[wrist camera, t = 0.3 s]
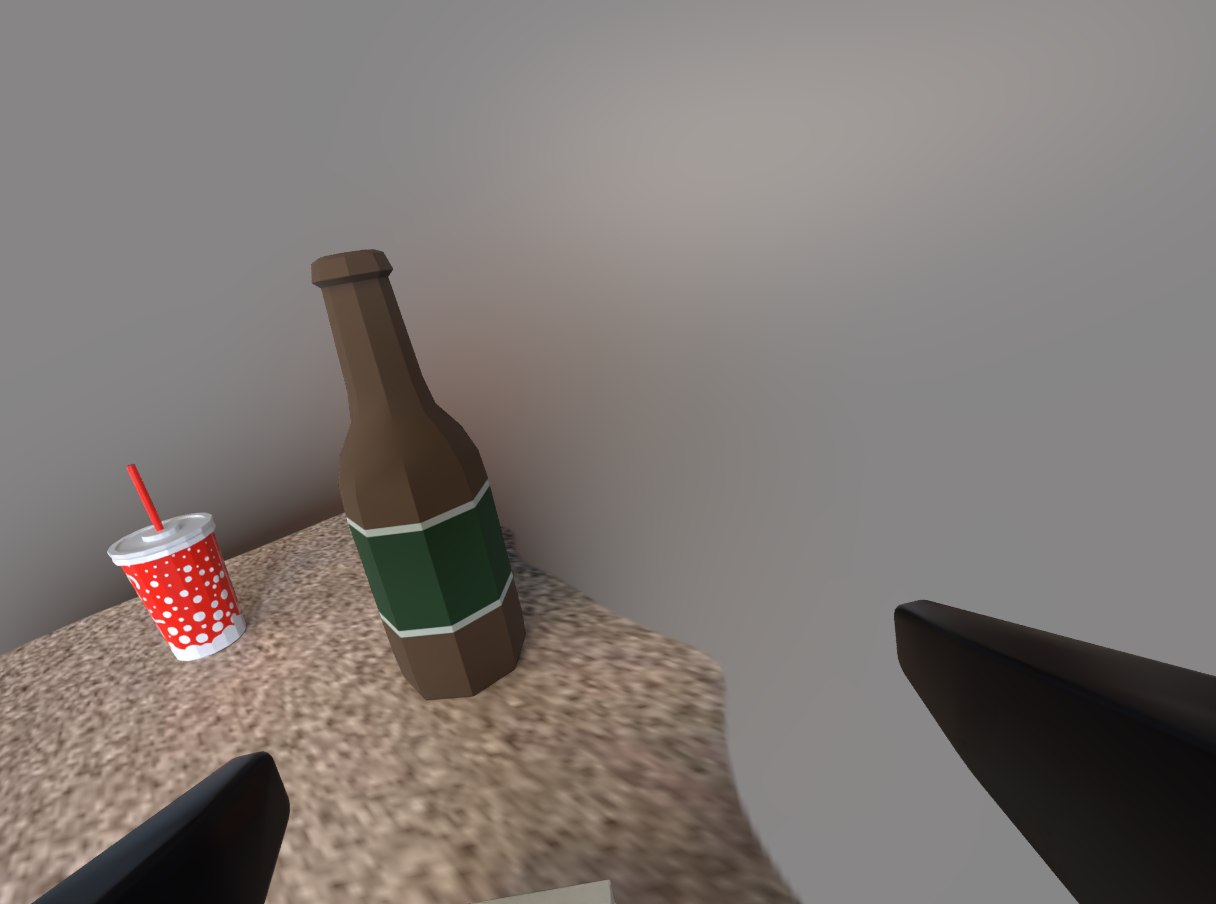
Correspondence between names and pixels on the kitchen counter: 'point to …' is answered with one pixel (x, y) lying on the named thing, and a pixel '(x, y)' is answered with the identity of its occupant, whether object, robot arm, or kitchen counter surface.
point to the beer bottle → (417, 497)
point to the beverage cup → (181, 580)
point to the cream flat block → (564, 895)
